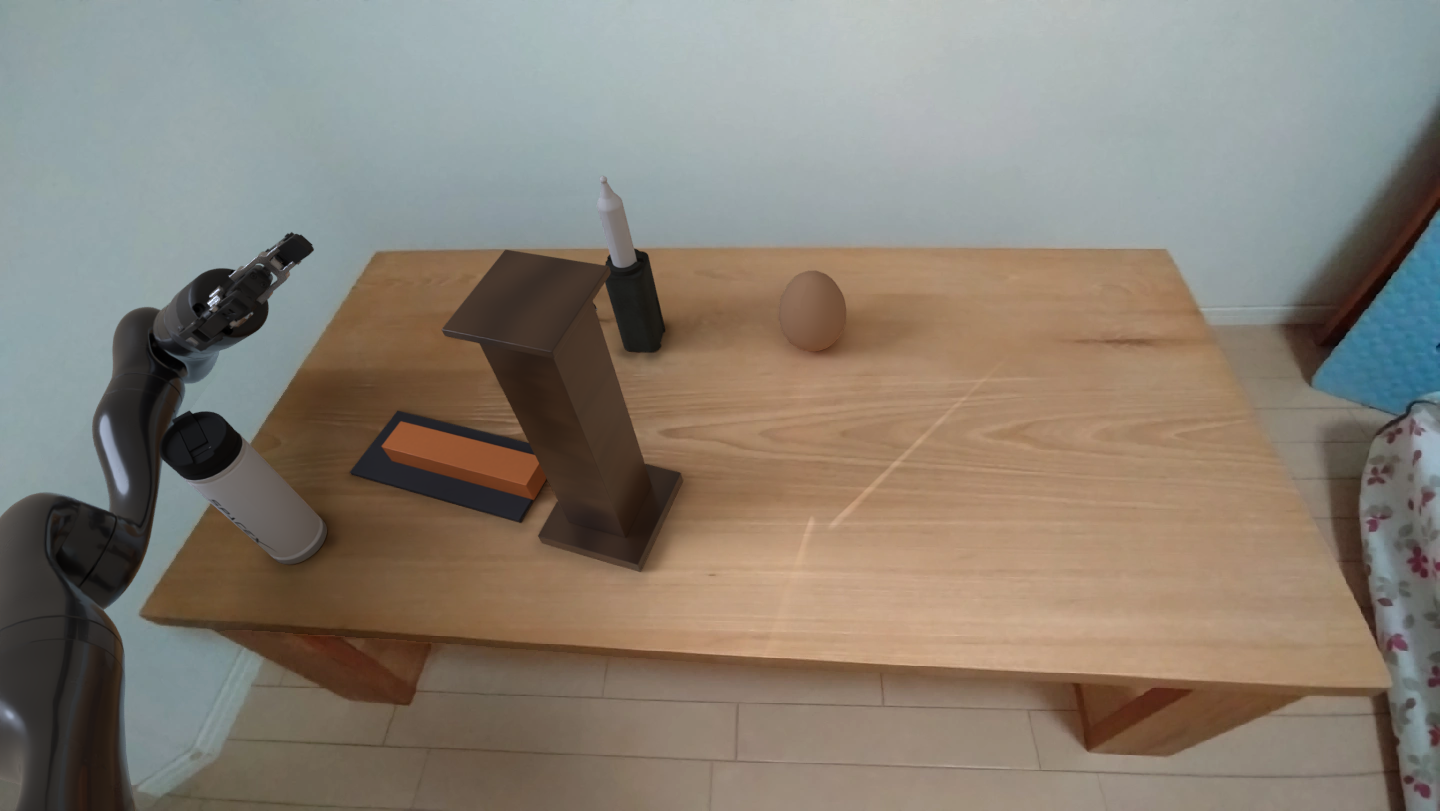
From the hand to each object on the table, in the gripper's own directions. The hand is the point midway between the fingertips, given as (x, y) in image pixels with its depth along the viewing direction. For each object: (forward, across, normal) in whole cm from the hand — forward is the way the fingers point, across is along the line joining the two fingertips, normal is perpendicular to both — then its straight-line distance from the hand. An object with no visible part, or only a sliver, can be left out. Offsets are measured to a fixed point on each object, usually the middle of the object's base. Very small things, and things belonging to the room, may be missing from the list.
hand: (275, 270), depth 74 cm
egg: (+25, -28, -47) cm, 60 cm away
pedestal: (+11, +1, -40) cm, 41 cm away
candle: (+6, -25, -36) cm, 44 cm away
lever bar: (-5, 0, -29) cm, 30 cm away
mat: (-7, 0, -29) cm, 30 cm away
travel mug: (-18, +14, -23) cm, 32 cm away
